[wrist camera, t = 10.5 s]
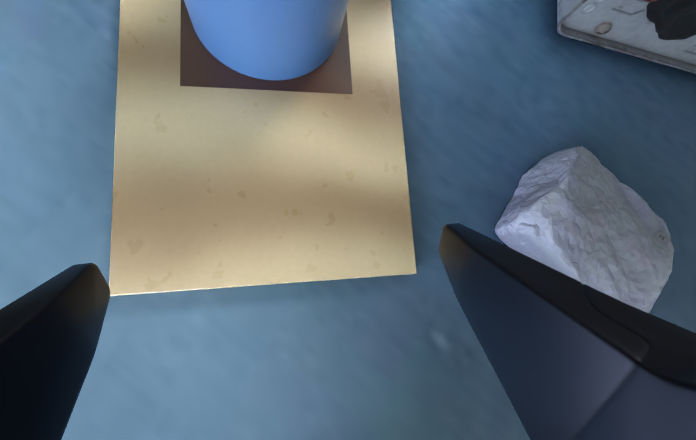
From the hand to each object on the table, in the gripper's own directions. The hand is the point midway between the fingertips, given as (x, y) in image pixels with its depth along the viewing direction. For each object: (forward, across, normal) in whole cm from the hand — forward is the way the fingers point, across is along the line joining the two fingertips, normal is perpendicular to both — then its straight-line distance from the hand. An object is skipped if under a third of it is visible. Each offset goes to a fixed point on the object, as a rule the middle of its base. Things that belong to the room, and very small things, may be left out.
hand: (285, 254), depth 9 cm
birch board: (+18, 0, -1) cm, 18 cm away
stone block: (+10, -22, +10) cm, 26 cm away
